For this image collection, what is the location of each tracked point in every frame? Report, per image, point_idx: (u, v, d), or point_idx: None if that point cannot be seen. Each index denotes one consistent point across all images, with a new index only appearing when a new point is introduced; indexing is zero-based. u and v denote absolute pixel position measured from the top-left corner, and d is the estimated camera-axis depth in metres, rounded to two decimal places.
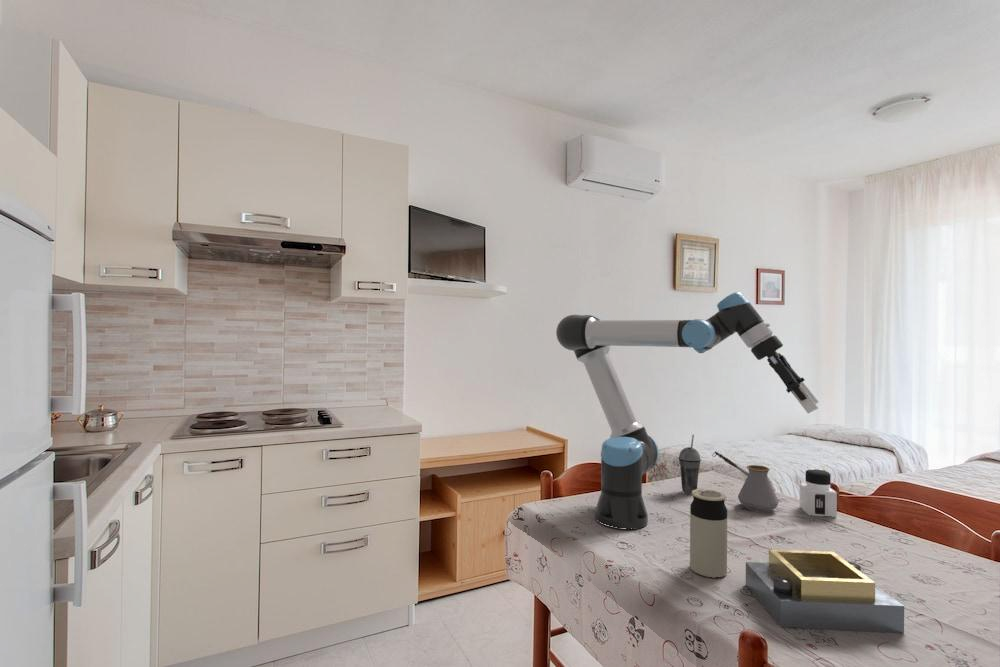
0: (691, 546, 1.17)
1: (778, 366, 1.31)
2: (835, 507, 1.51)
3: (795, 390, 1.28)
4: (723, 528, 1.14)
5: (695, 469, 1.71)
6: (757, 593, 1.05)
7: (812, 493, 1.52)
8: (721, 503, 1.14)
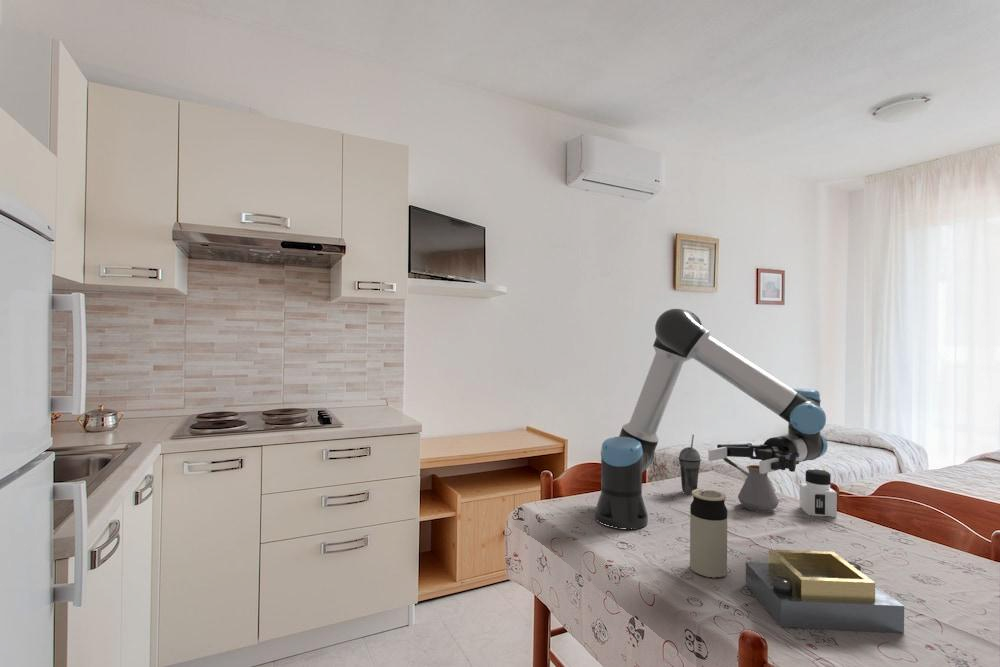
0: (691, 546, 1.17)
1: None
2: (835, 507, 1.51)
3: (783, 464, 1.18)
4: (723, 528, 1.14)
5: (695, 469, 1.71)
6: (757, 593, 1.05)
7: (812, 493, 1.52)
8: (721, 503, 1.14)
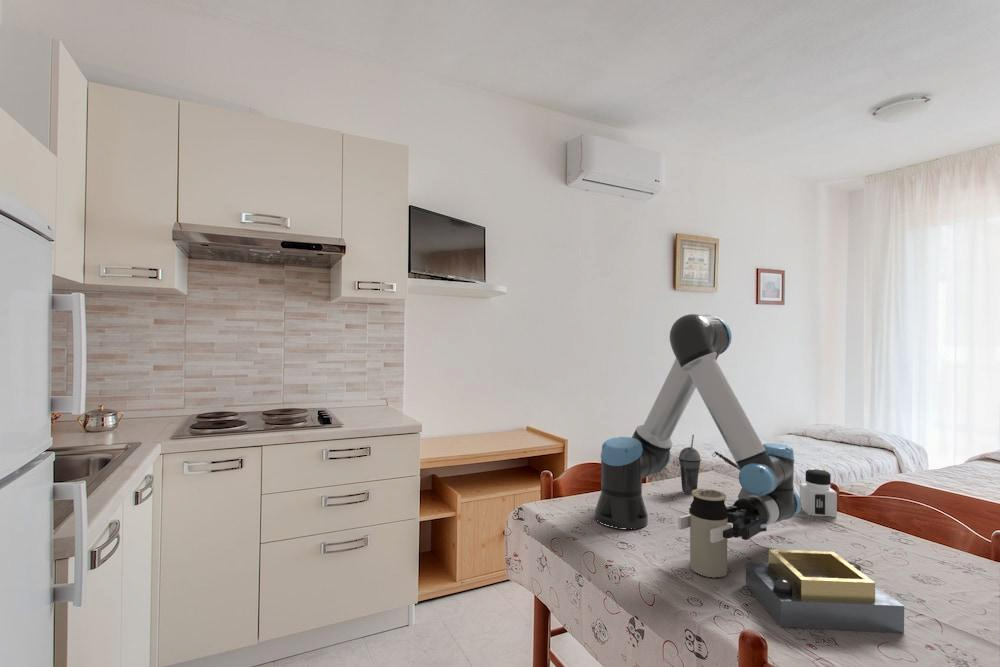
0: (691, 546, 1.17)
1: (758, 527, 1.16)
2: (835, 507, 1.51)
3: (735, 532, 1.13)
4: None
5: (695, 469, 1.71)
6: (757, 593, 1.05)
7: (812, 493, 1.52)
8: (721, 503, 1.14)
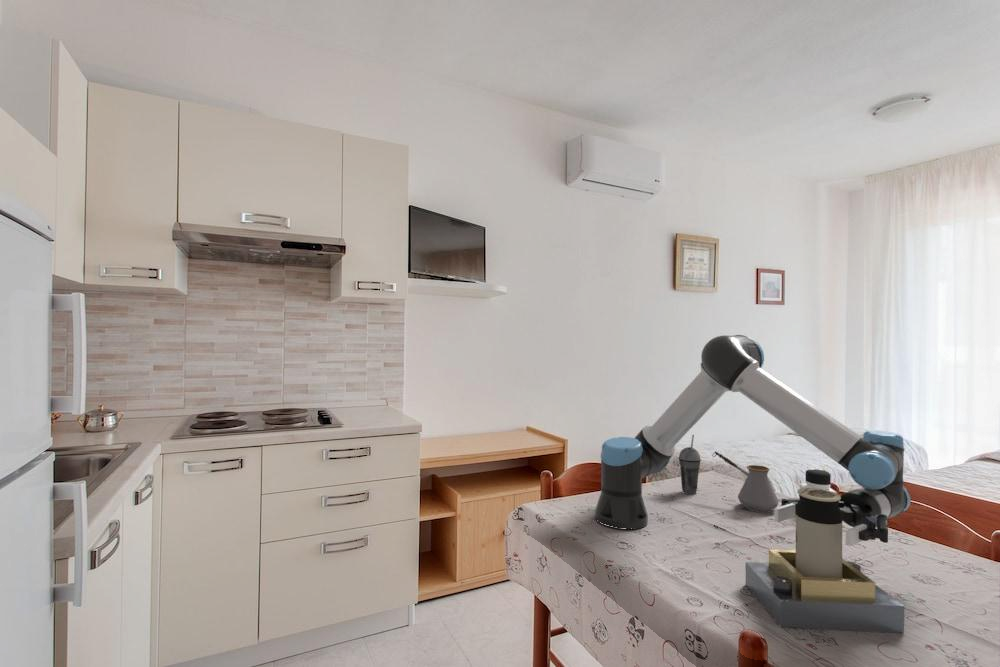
0: (799, 554, 1.02)
1: None
2: None
3: (873, 533, 0.96)
4: (840, 533, 0.98)
5: (695, 469, 1.71)
6: (757, 593, 1.05)
7: None
8: (836, 504, 0.99)
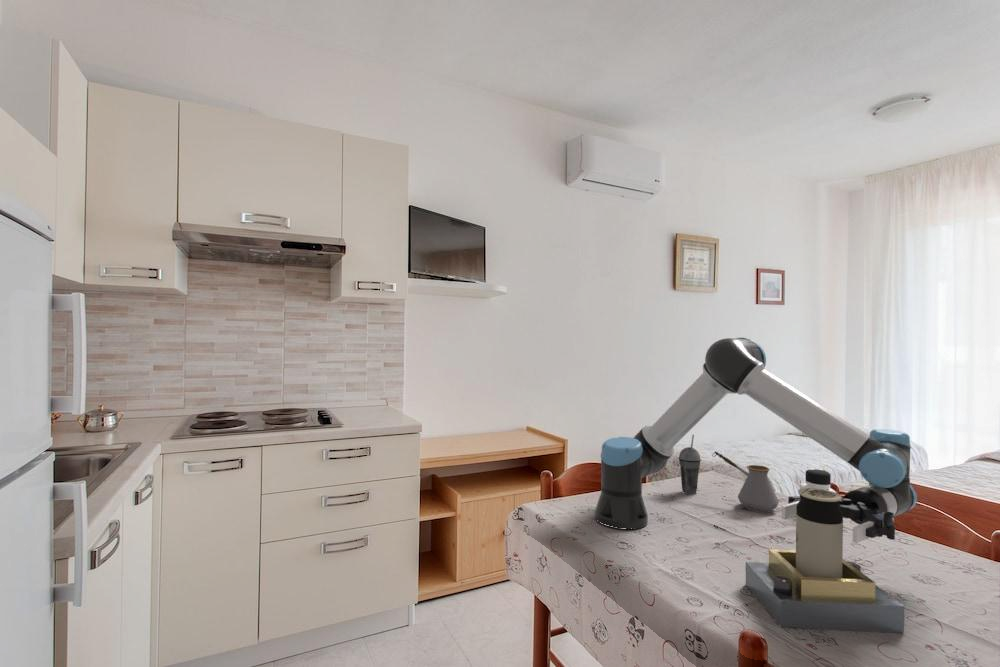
0: (799, 554, 1.02)
1: None
2: None
3: (880, 530, 0.97)
4: (840, 533, 0.98)
5: (695, 469, 1.71)
6: (757, 593, 1.05)
7: None
8: (837, 504, 0.99)
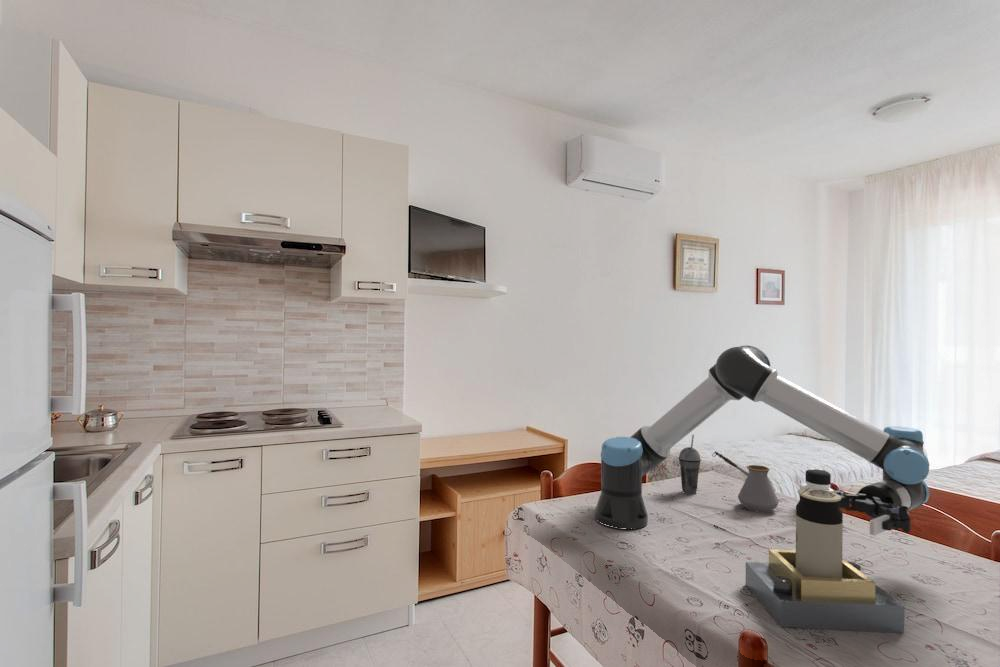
0: (799, 554, 1.02)
1: None
2: None
3: (896, 523, 1.01)
4: (840, 533, 0.98)
5: (695, 469, 1.71)
6: (757, 593, 1.05)
7: None
8: (837, 504, 0.99)
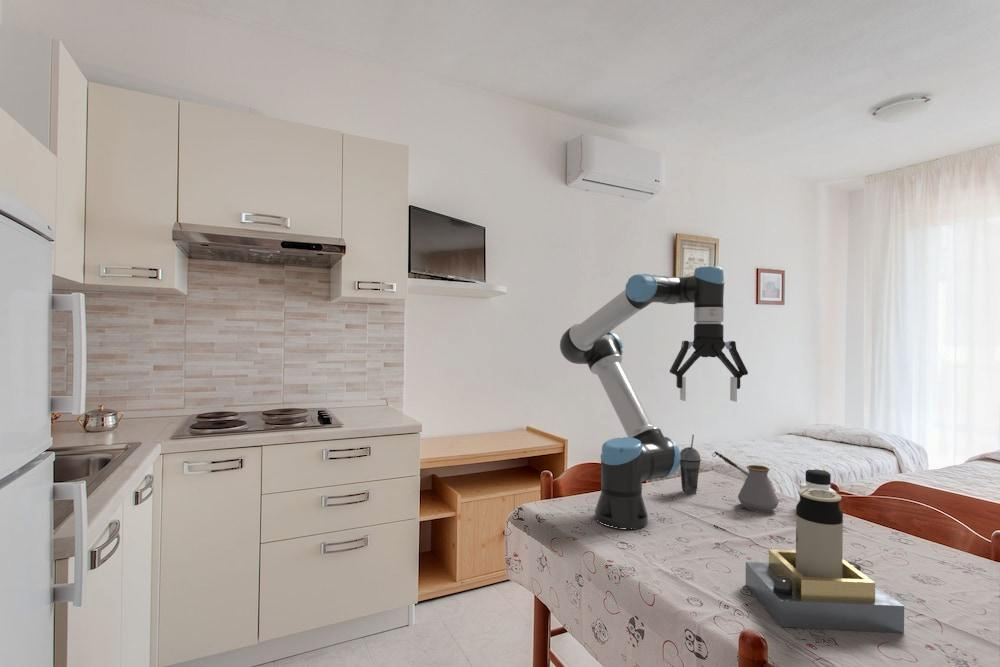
0: (799, 554, 1.02)
1: (680, 351, 1.39)
2: None
3: None
4: (840, 533, 0.98)
5: (695, 469, 1.71)
6: (757, 593, 1.05)
7: None
8: (837, 504, 0.99)
